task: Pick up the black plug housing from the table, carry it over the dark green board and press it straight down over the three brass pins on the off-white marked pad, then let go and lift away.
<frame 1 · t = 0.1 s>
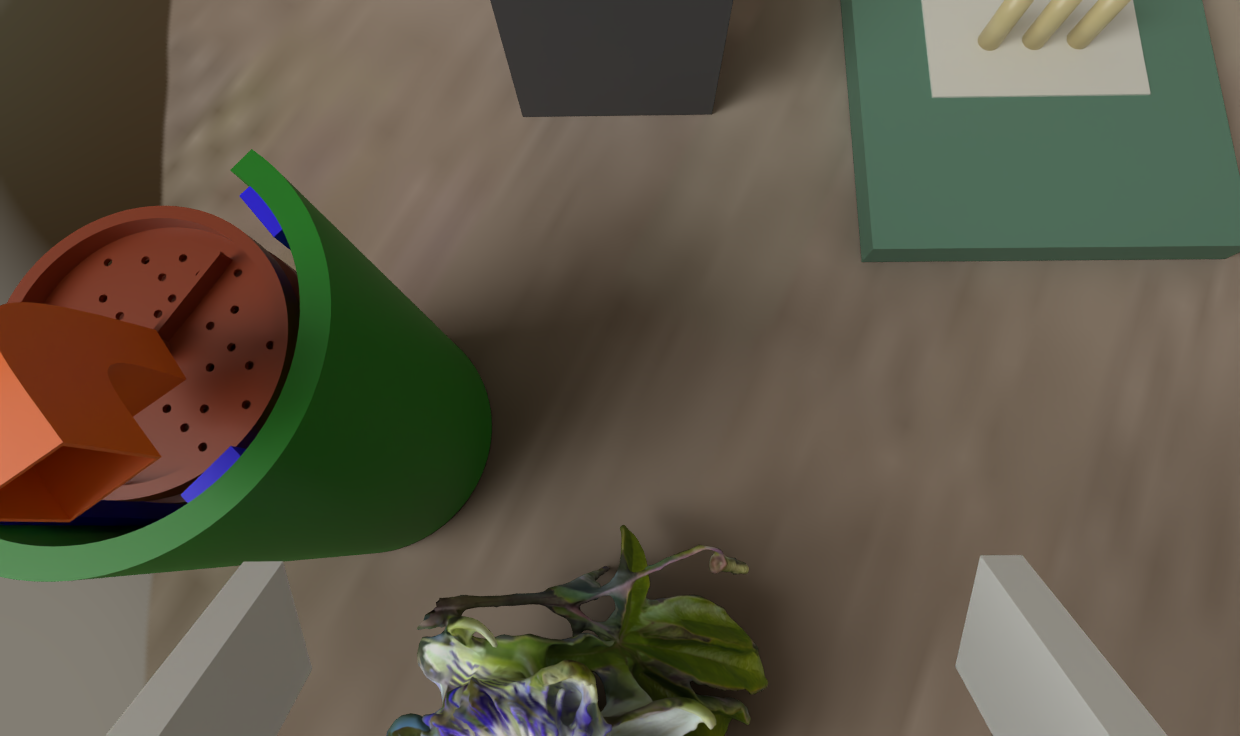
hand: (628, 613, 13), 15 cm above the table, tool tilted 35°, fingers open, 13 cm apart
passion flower: (592, 664, 28), on the table
plug housing: (617, 69, 33), on the table
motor: (386, 441, 30), on the table
header board: (1014, 63, 33), on the table
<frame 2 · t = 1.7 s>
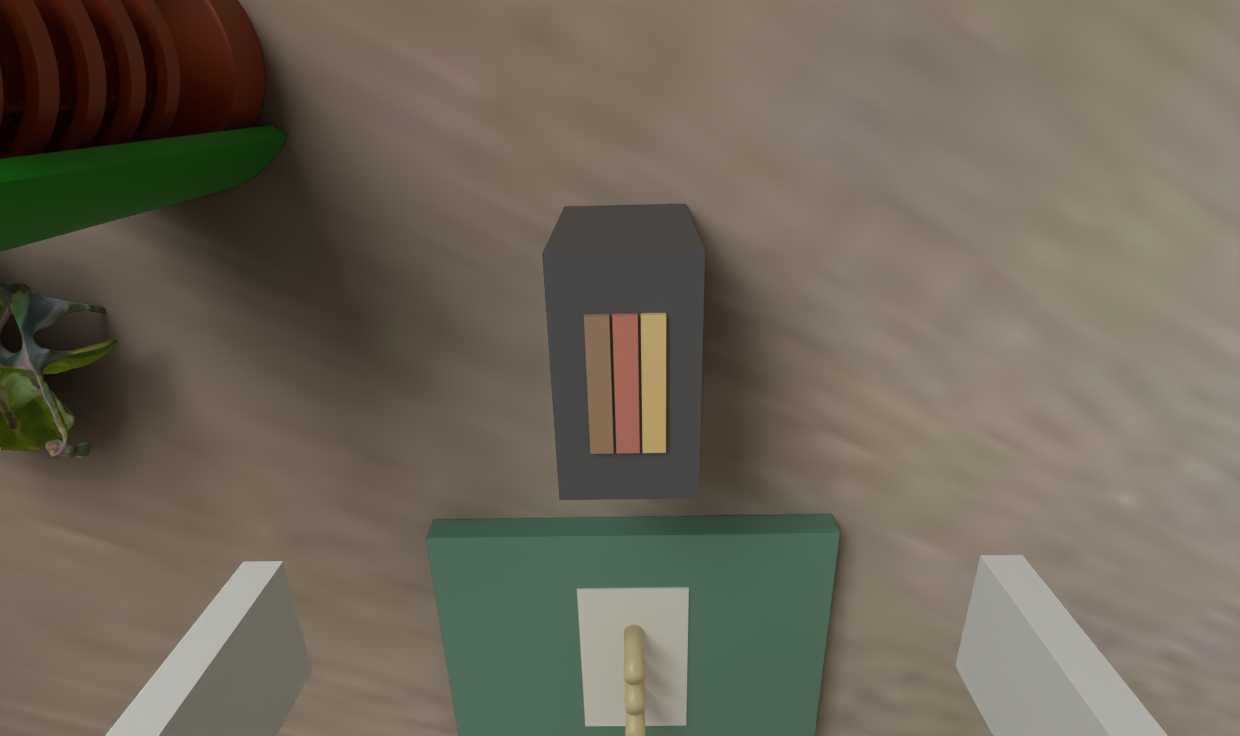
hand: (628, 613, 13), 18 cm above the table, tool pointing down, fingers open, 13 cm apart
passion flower: (20, 298, 31), on the table
plug housing: (627, 308, 30), on the table
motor: (160, 72, 27), on the table
header board: (634, 638, 38), on the table
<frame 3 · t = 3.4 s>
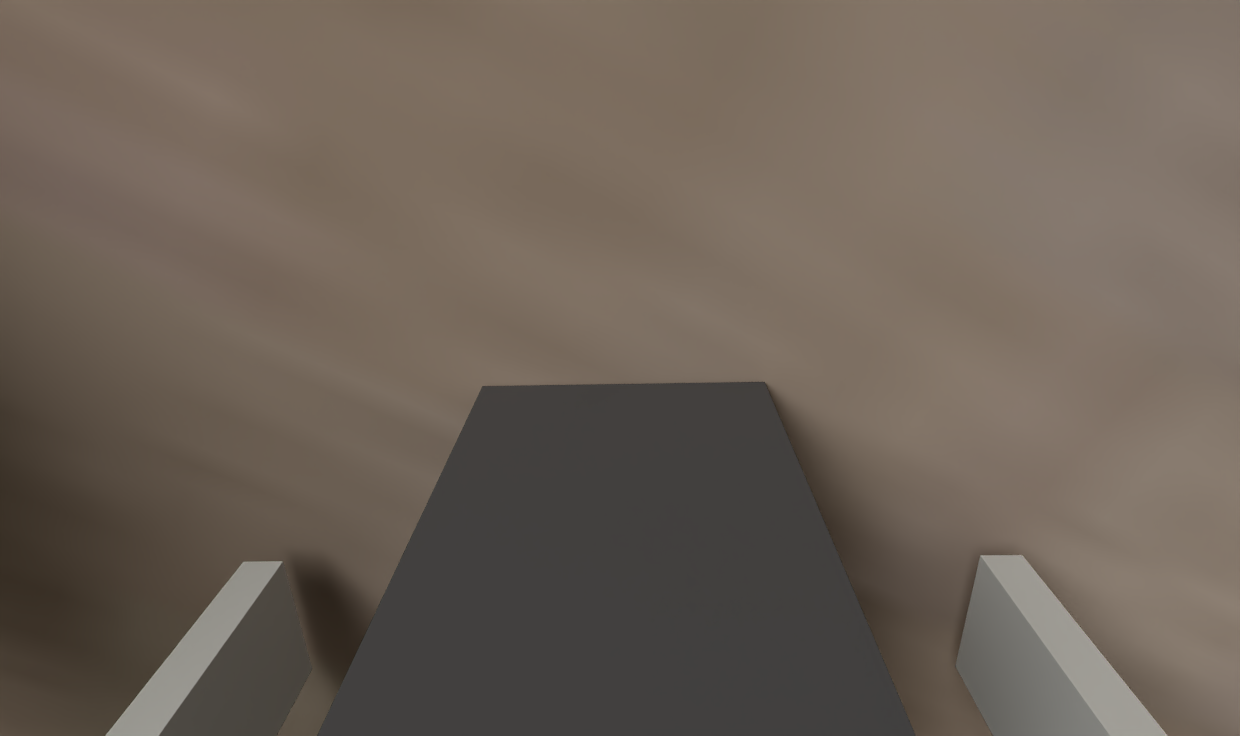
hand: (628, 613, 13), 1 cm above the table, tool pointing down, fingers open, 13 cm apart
plug housing: (627, 585, 14), on the table
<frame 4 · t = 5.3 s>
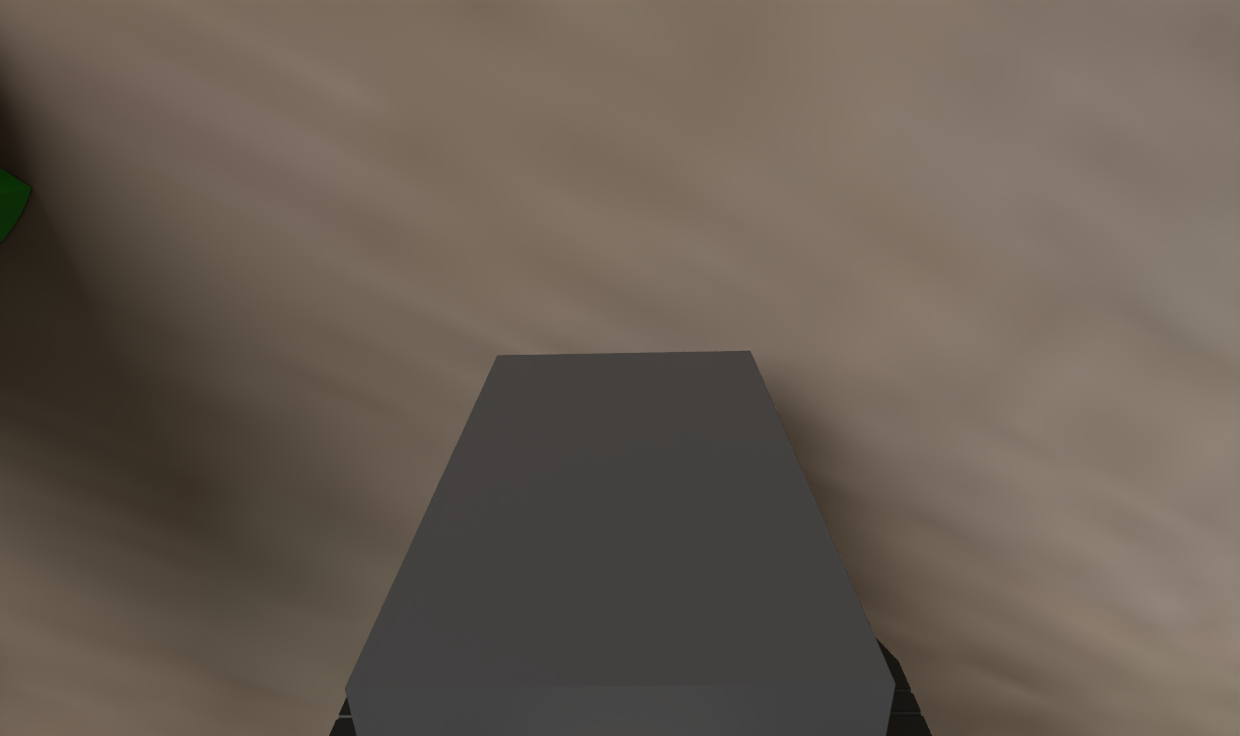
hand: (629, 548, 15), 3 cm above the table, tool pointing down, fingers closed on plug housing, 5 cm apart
plug housing: (627, 539, 15), point 2 cm above the table, touching gripper
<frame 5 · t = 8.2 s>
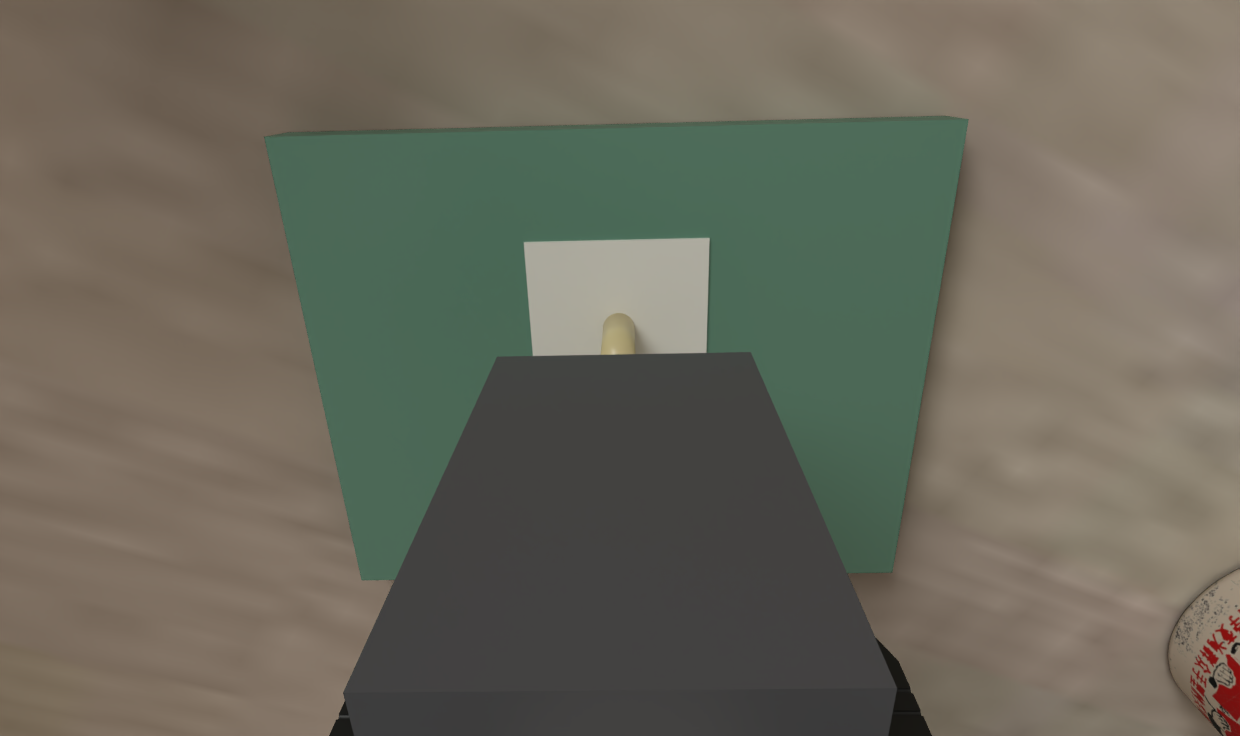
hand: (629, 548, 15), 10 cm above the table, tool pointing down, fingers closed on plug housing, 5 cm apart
plug housing: (627, 540, 15), point 10 cm above the table, touching gripper
header board: (620, 365, 24), on the table
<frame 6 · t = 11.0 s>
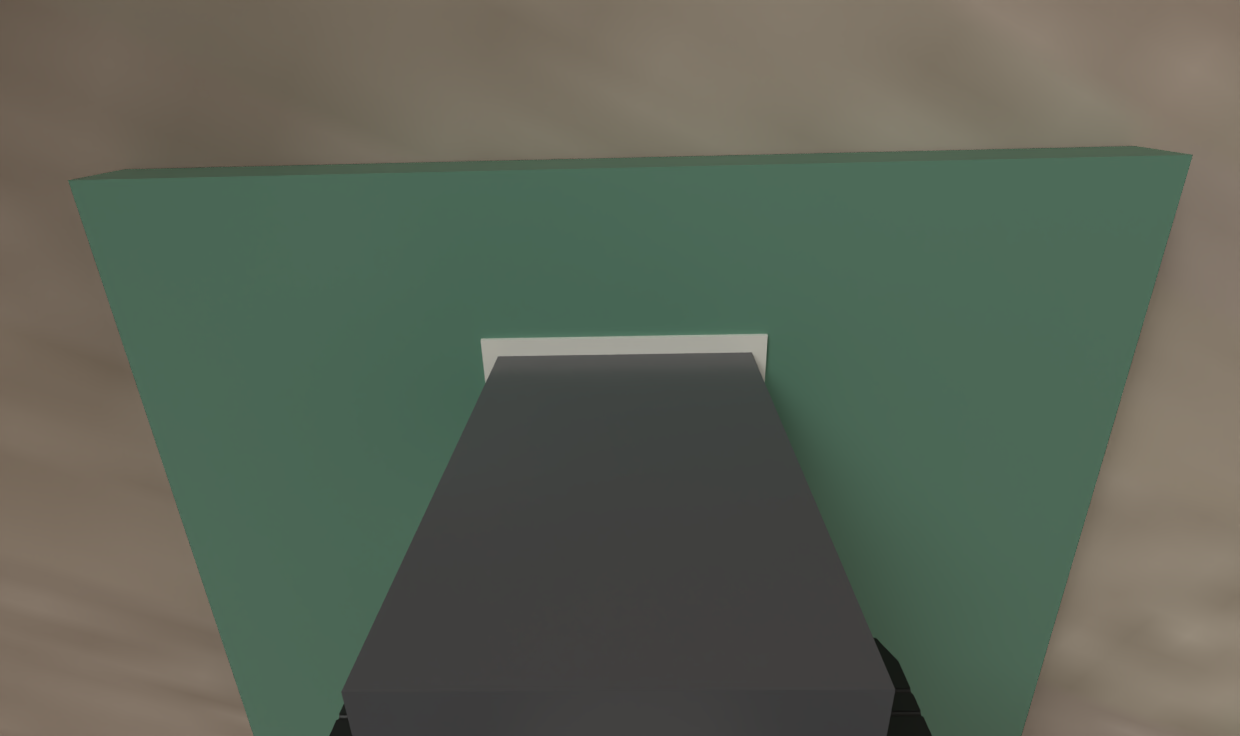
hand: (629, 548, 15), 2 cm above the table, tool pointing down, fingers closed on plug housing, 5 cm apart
plug housing: (628, 541, 15), point 2 cm above the table, touching gripper, header board
header board: (628, 498, 17), on the table
when the fingers open (2 cm above the table, at t = 11.0 s): plug housing stays where it is, resting on header board.
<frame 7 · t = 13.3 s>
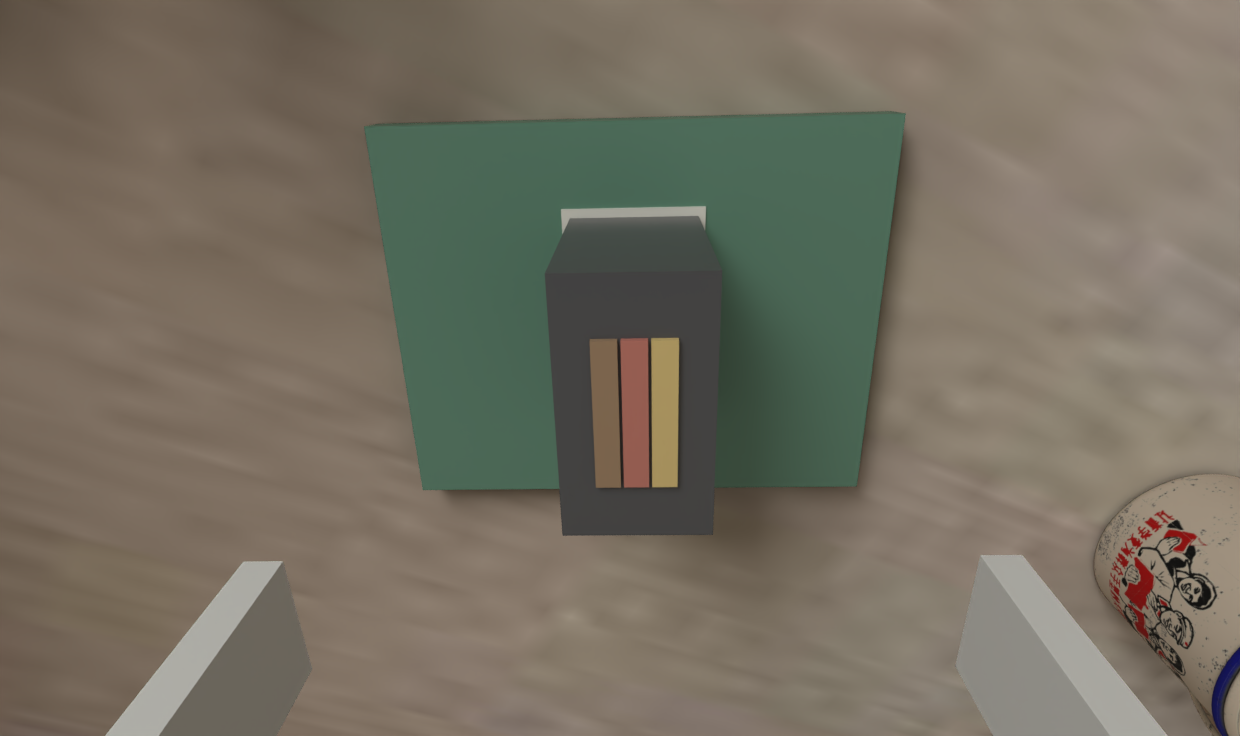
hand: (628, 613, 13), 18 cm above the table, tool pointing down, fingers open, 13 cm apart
plug housing: (635, 326, 28), point 2 cm above the table, touching header board
teacup with lid: (1171, 565, 35), on the table
header board: (635, 312, 30), on the table
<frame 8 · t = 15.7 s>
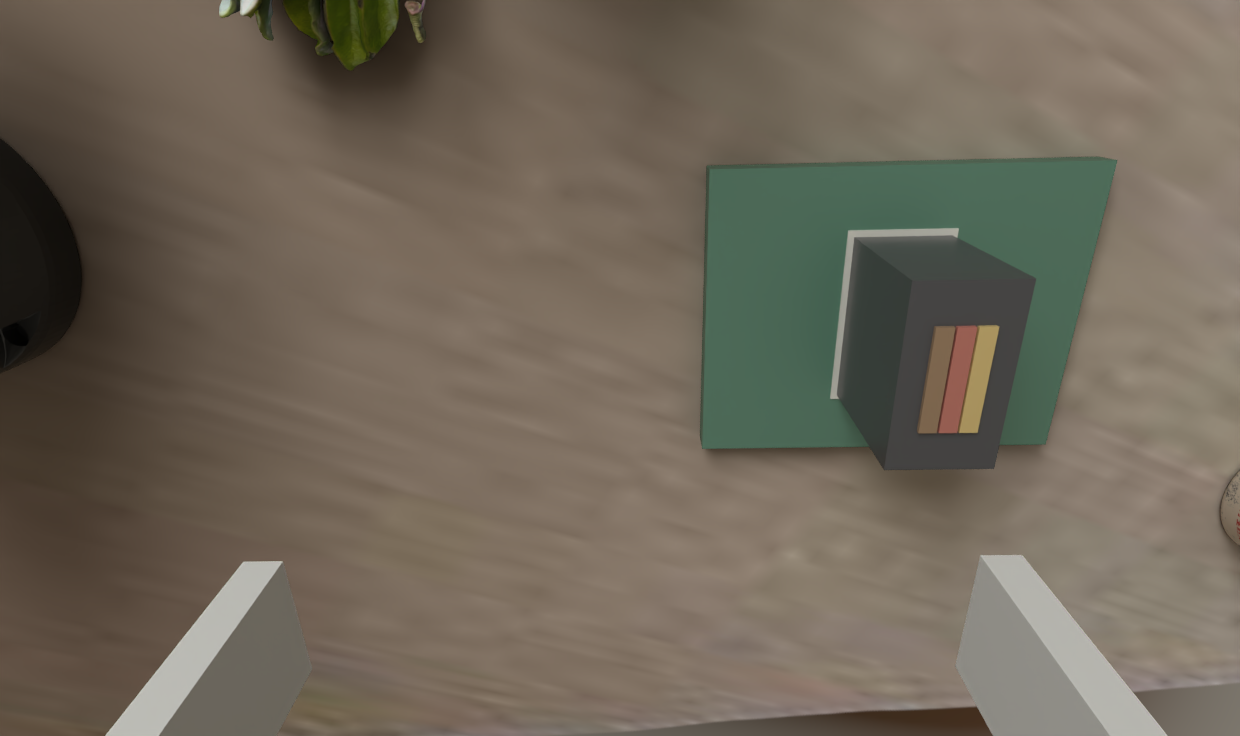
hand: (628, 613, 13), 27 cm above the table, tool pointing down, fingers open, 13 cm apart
plug housing: (891, 319, 37), point 2 cm above the table, touching header board
header board: (881, 308, 39), on the table
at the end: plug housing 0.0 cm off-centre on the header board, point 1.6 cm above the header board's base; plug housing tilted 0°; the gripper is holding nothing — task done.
